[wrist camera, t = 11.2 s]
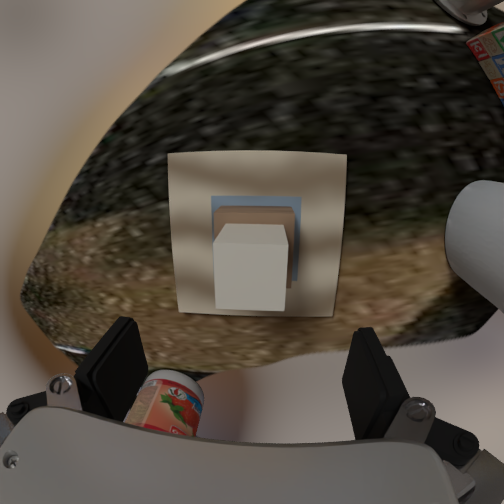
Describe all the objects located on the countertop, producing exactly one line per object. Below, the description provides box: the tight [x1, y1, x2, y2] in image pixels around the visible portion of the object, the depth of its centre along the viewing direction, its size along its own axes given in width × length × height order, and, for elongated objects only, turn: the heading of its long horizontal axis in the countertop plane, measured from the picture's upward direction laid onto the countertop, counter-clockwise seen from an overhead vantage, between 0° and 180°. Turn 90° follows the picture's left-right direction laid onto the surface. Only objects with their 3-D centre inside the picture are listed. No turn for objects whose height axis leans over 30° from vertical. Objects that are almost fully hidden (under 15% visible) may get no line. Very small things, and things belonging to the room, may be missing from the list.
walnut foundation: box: [214, 206, 295, 288], centre depth 27 cm, size 7×7×4 cm
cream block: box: [213, 224, 288, 311], centre depth 22 cm, size 5×5×6 cm
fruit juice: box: [125, 370, 204, 437], centre depth 25 cm, size 9×9×28 cm
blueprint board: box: [168, 151, 347, 317], centre depth 29 cm, size 18×18×1 cm
